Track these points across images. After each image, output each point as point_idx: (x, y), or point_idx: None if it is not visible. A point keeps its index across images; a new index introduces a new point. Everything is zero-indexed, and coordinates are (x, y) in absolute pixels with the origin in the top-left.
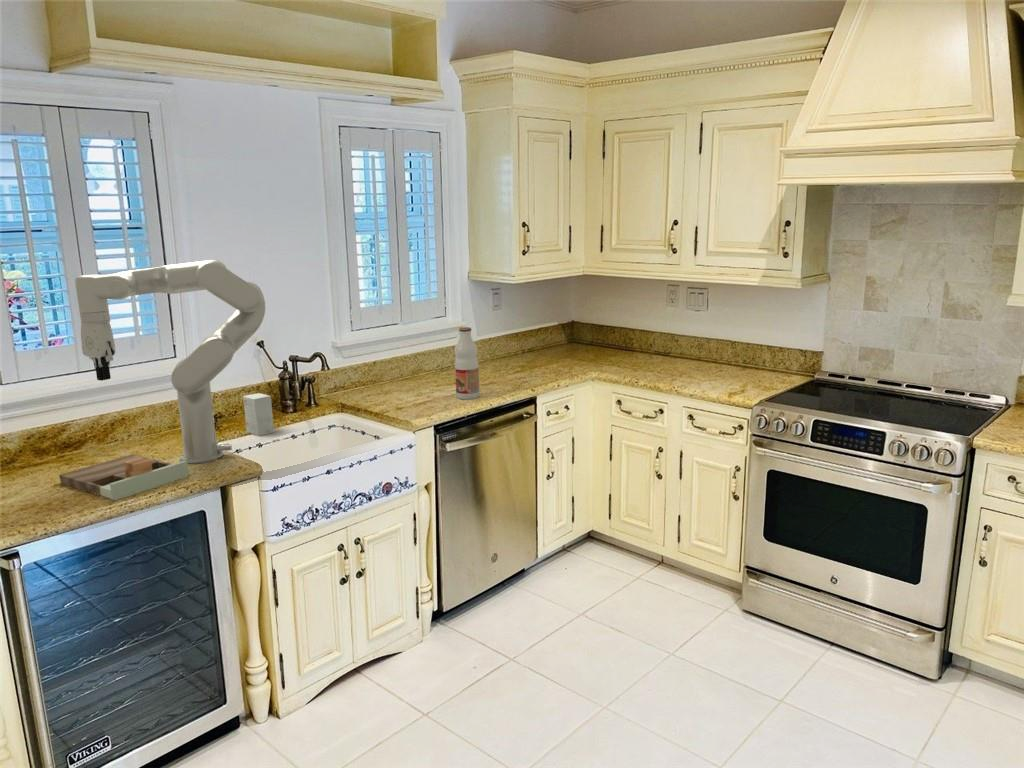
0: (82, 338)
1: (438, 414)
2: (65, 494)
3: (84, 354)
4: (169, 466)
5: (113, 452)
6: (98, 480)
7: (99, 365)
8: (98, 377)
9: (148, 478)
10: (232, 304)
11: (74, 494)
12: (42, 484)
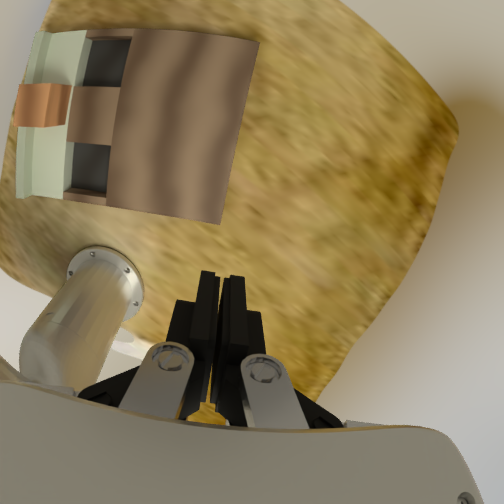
0: None
1: None
2: (177, 6)
3: (413, 434)
4: (17, 157)
5: (331, 257)
6: (128, 53)
7: (175, 358)
8: (226, 285)
9: None
10: None
11: (157, 13)
12: (295, 33)
